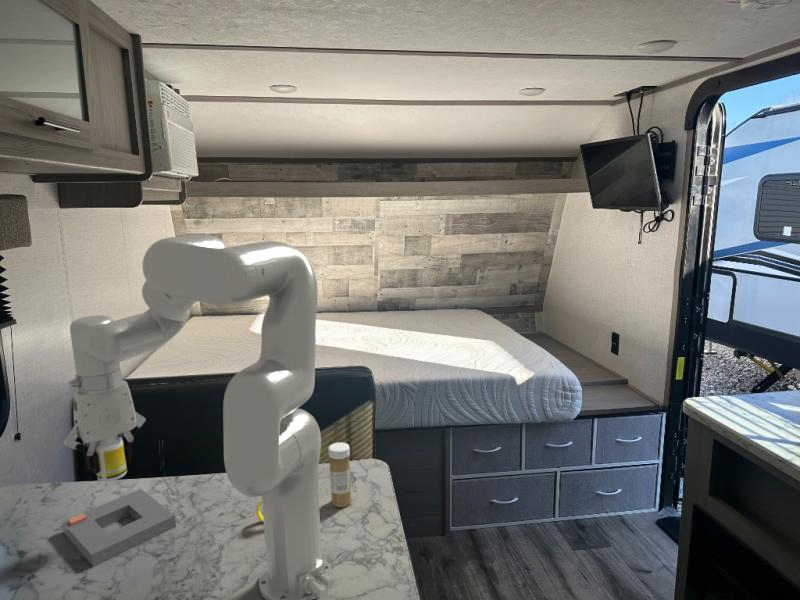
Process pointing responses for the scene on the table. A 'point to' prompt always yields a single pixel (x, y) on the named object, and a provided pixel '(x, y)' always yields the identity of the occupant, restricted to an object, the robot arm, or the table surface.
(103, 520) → the block with square hole
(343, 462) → the sprinkles bottle
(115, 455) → the supplement bottle
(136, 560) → the table surface
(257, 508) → the watch
